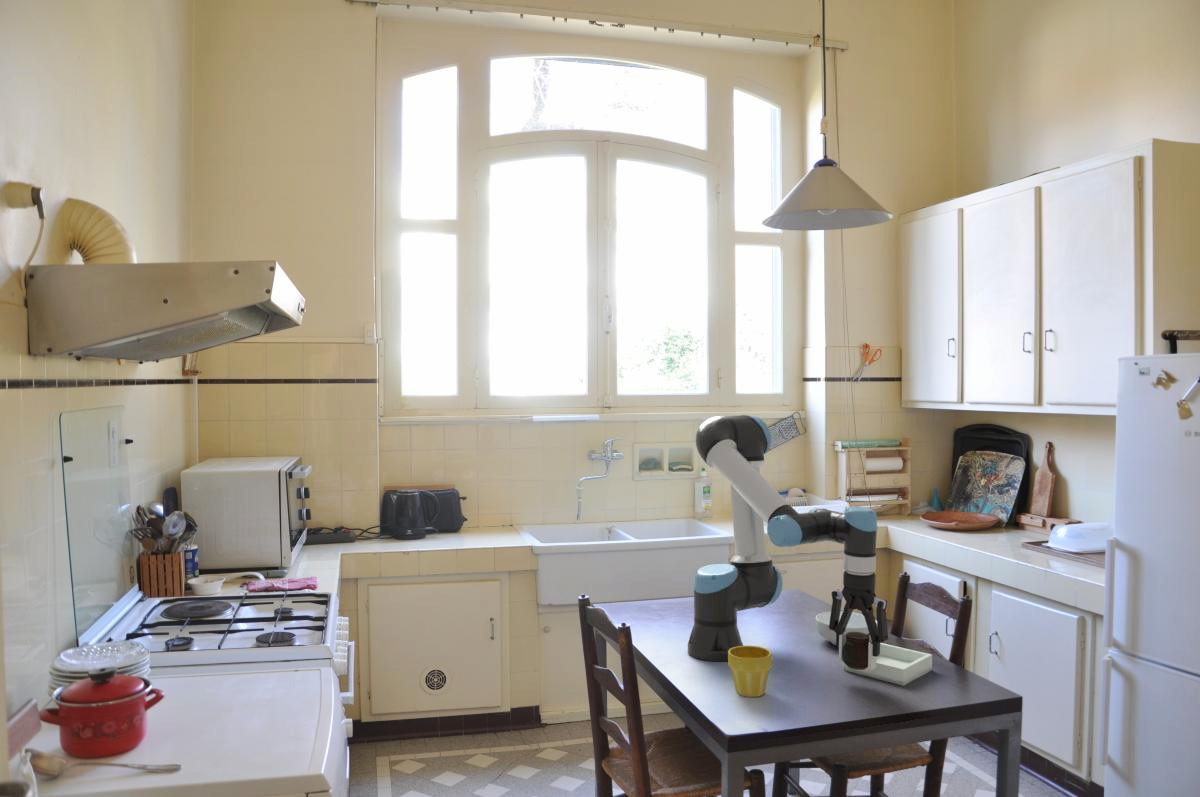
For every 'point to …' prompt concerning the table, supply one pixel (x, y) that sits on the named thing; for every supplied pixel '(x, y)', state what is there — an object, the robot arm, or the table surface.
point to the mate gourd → (856, 650)
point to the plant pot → (750, 669)
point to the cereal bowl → (854, 624)
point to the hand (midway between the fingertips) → (857, 664)
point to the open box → (897, 665)
